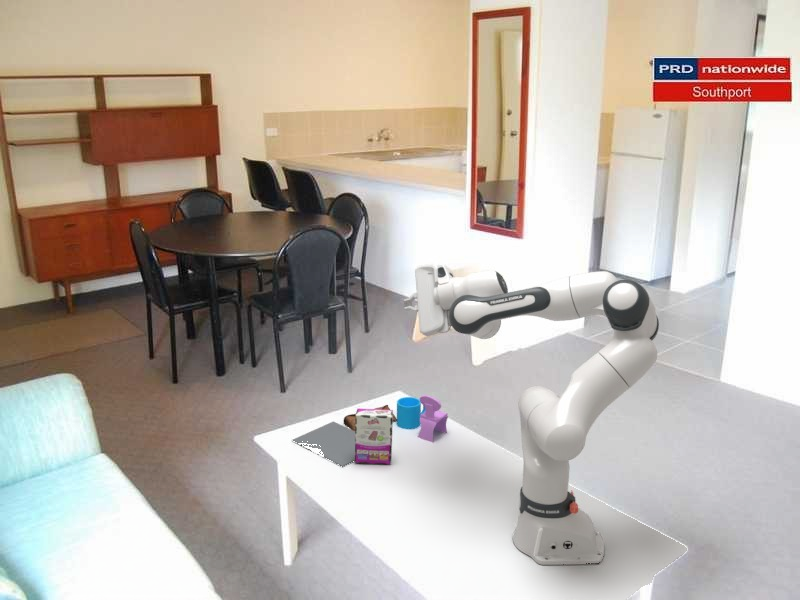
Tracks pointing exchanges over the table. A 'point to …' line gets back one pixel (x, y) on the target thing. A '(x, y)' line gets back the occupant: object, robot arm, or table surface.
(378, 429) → the candy bar box
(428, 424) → the toy chair
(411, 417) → the mug
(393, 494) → the table surface
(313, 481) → the table surface
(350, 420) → the sunglasses case
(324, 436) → the mat
